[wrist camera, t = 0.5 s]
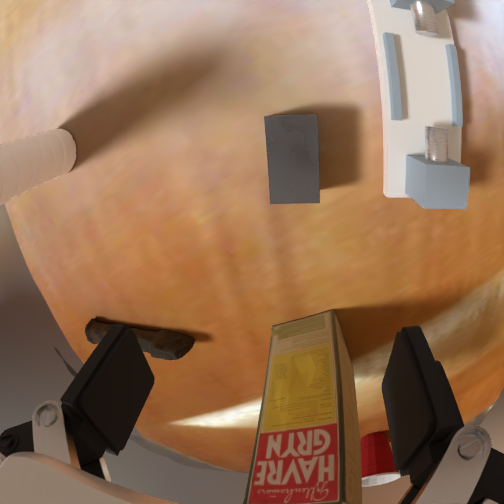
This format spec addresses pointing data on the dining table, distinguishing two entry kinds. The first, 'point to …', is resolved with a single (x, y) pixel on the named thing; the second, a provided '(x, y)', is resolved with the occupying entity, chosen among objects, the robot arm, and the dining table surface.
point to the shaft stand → (420, 102)
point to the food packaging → (307, 419)
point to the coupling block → (293, 158)
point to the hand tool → (147, 340)
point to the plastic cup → (377, 460)
